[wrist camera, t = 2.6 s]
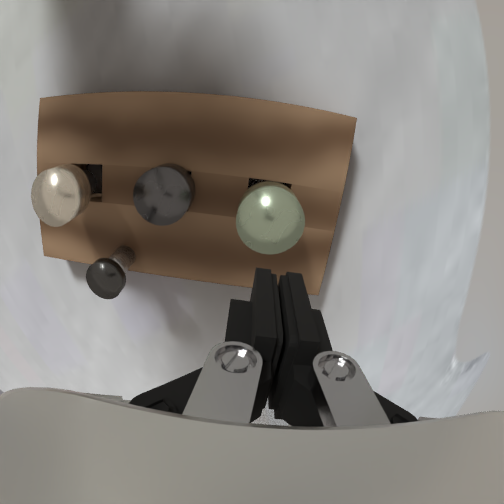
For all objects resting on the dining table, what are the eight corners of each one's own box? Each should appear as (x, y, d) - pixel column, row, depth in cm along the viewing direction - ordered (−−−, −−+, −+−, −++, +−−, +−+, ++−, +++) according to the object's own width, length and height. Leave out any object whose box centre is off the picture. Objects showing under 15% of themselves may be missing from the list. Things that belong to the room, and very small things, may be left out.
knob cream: (65, 158, 23) (30, 169, 18) (106, 159, 23) (74, 170, 18) (66, 205, 25) (33, 224, 20) (105, 209, 25) (76, 229, 20)
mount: (57, 98, 23) (40, 98, 21) (346, 118, 25) (356, 118, 22) (58, 244, 30) (44, 255, 27) (312, 279, 31) (318, 295, 28)
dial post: (109, 237, 26) (84, 260, 22) (141, 241, 26) (120, 266, 22) (111, 268, 27) (88, 295, 23) (141, 273, 28) (122, 302, 23)
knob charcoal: (155, 157, 26) (134, 165, 21) (203, 161, 26) (191, 170, 21) (152, 204, 28) (132, 222, 23) (199, 209, 28) (187, 228, 23)
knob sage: (243, 171, 24) (240, 184, 19) (299, 179, 24) (310, 194, 19) (236, 224, 25) (232, 249, 20) (289, 231, 26) (297, 258, 21)
